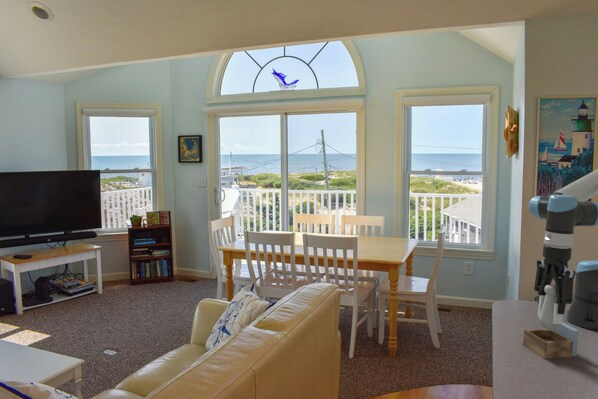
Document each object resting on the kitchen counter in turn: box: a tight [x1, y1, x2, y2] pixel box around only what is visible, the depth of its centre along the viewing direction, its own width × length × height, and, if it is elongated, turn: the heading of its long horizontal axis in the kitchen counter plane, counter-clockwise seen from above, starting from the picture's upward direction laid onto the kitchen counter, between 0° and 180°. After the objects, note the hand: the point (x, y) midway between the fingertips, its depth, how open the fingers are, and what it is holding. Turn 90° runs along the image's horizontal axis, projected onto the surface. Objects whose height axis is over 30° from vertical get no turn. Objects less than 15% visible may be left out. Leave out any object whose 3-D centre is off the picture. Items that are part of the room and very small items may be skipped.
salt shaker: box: [538, 284, 559, 330], centre depth 140 cm, size 6×6×13 cm
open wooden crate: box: [522, 328, 573, 359], centre depth 142 cm, size 10×10×5 cm
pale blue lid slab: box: [552, 321, 580, 357], centre depth 142 cm, size 2×8×8 cm, turn 10°
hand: (549, 319), depth 141 cm, fingers closed on salt shaker, 6 cm apart
